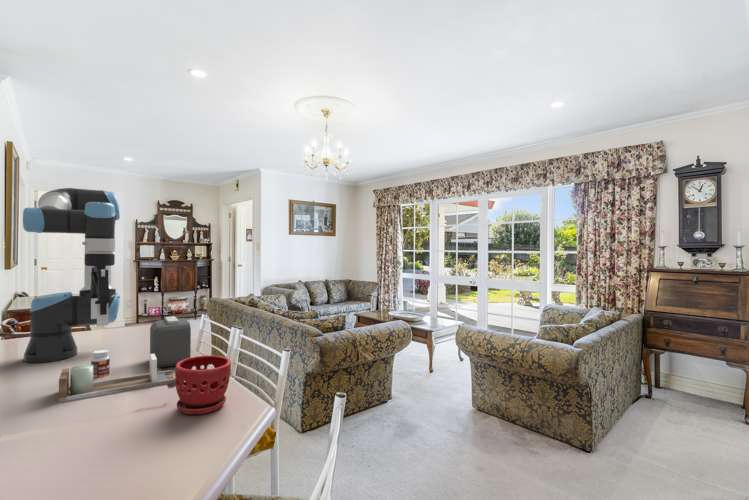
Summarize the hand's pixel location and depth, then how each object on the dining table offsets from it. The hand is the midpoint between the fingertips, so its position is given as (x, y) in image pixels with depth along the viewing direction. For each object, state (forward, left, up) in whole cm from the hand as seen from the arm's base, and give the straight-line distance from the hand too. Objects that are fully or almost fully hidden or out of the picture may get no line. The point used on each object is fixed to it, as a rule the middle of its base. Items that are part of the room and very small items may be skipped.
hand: (99, 321), depth 117 cm
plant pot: (+39, +22, -18) cm, 48 cm away
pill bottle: (-2, 0, -18) cm, 18 cm away
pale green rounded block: (+13, -4, -17) cm, 22 cm away
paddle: (+13, +15, -17) cm, 26 cm away
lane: (+13, +5, -18) cm, 23 cm away
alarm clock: (-9, +20, -18) cm, 29 cm away
